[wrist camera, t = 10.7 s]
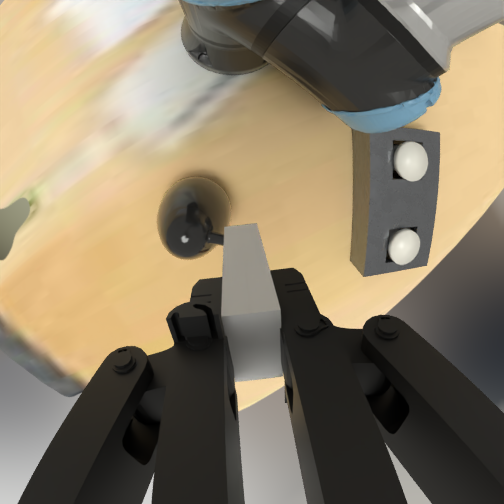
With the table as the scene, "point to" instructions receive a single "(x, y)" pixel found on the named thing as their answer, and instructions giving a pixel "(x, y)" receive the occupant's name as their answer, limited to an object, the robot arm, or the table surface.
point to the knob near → (410, 160)
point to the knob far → (403, 245)
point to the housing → (390, 199)
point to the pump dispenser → (193, 217)
